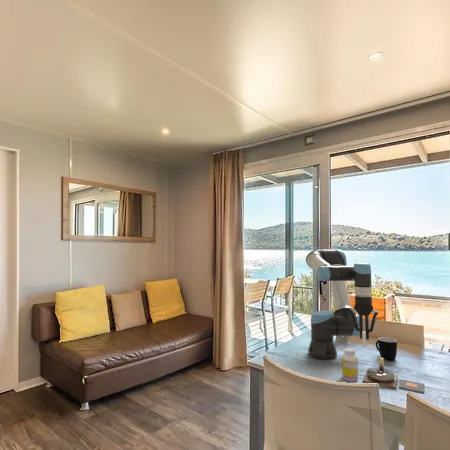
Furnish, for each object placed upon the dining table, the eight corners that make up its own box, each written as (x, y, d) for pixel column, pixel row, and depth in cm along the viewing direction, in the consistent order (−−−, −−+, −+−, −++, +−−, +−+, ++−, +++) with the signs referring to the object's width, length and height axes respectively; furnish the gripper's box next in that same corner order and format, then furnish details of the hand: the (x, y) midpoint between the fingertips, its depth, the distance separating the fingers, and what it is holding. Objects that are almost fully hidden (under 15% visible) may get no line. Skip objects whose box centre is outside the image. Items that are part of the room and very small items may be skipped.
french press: (330, 340, 202) (329, 300, 203) (346, 338, 205) (345, 299, 206) (340, 345, 192) (339, 303, 194) (356, 343, 196) (355, 302, 197)
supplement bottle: (345, 374, 150) (344, 346, 151) (360, 378, 146) (359, 349, 147) (340, 378, 145) (339, 350, 146) (355, 383, 141) (354, 353, 141)
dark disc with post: (365, 378, 142) (365, 362, 142) (369, 370, 151) (368, 355, 151) (393, 384, 136) (392, 367, 136) (395, 375, 145) (394, 359, 146)
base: (362, 382, 141) (362, 379, 141) (367, 372, 152) (367, 369, 152) (395, 389, 134) (395, 386, 134) (398, 378, 145) (398, 375, 145)
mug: (401, 360, 167) (400, 340, 168) (389, 363, 164) (388, 342, 164) (382, 353, 178) (381, 334, 179) (370, 355, 175) (369, 336, 175)
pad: (398, 388, 136) (398, 386, 136) (400, 380, 143) (400, 378, 143) (423, 393, 131) (423, 391, 131) (423, 385, 138) (423, 383, 138)
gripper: (347, 295, 153) (348, 346, 151) (377, 297, 146) (379, 350, 144) (350, 293, 159) (351, 342, 157) (379, 295, 152) (380, 346, 150)
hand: (364, 346), depth 151 cm, fingers closed
